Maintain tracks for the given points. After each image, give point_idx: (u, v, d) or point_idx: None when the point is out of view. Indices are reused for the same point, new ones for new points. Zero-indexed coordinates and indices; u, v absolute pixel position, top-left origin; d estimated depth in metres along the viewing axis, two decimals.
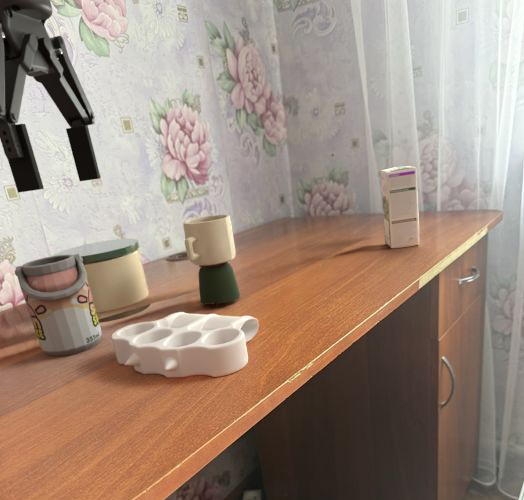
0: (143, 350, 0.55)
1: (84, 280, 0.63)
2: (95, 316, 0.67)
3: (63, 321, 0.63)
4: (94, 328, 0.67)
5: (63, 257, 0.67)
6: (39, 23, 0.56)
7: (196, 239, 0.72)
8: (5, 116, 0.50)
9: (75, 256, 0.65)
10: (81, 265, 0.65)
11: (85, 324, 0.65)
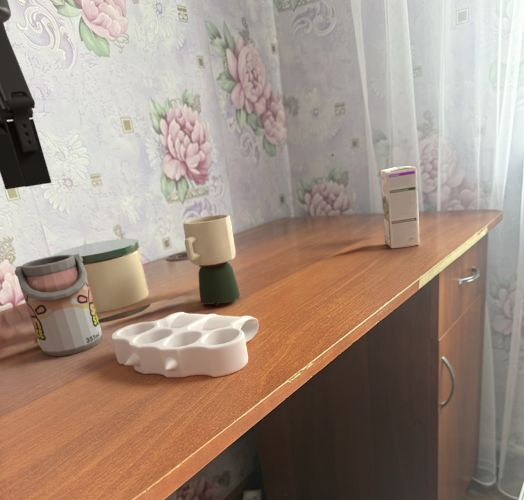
0: (143, 350, 0.55)
1: (84, 280, 0.63)
2: (95, 316, 0.67)
3: (63, 321, 0.63)
4: (94, 328, 0.67)
5: (63, 257, 0.67)
6: None
7: (196, 239, 0.72)
8: None
9: (75, 256, 0.65)
10: (81, 265, 0.65)
11: (85, 324, 0.65)
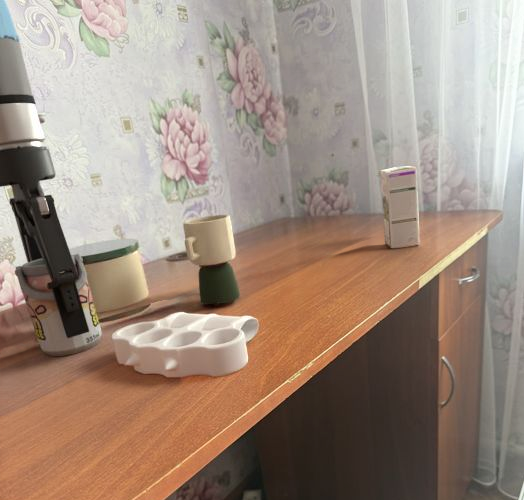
0: (143, 350, 0.55)
1: (84, 280, 0.63)
2: (95, 316, 0.67)
3: None
4: (94, 328, 0.67)
5: None
6: None
7: (196, 239, 0.72)
8: None
9: (75, 256, 0.65)
10: (81, 265, 0.65)
11: None
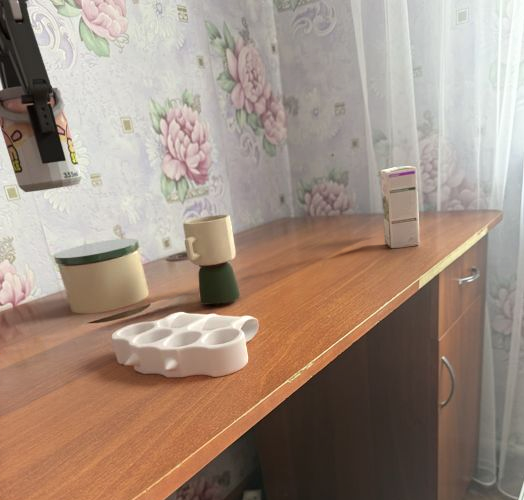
0: (143, 350, 0.55)
1: (61, 107, 0.62)
2: (74, 154, 0.66)
3: None
4: (72, 165, 0.66)
5: None
6: None
7: (196, 239, 0.72)
8: None
9: (53, 88, 0.64)
10: (59, 96, 0.64)
11: None
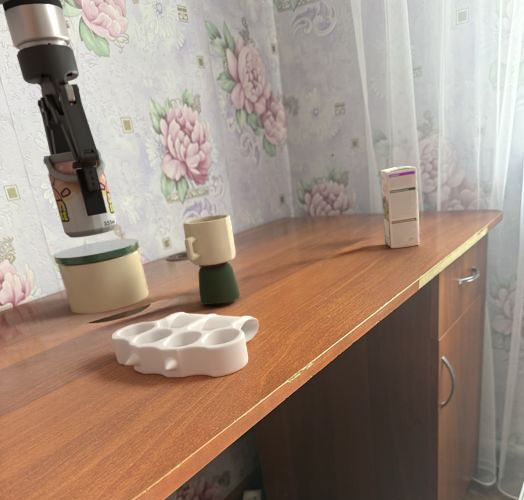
0: (143, 349, 0.55)
1: (103, 168, 0.74)
2: (111, 205, 0.78)
3: (84, 204, 0.74)
4: (111, 214, 0.77)
5: None
6: None
7: (196, 239, 0.72)
8: None
9: None
10: (100, 157, 0.75)
11: None
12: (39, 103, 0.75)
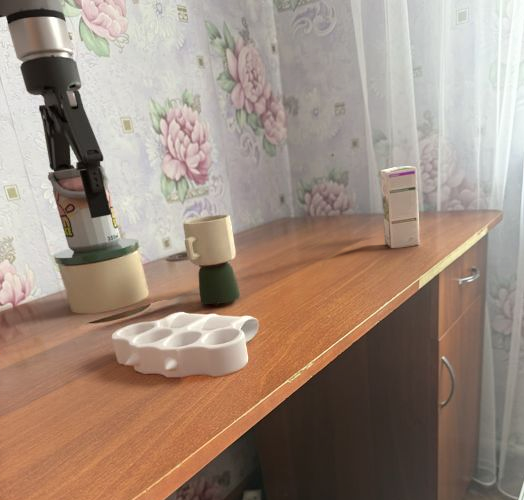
0: (143, 350, 0.55)
1: (106, 184, 0.75)
2: (115, 220, 0.79)
3: (88, 219, 0.75)
4: (114, 229, 0.78)
5: None
6: None
7: (196, 239, 0.72)
8: None
9: None
10: (103, 173, 0.76)
11: (106, 224, 0.77)
12: (41, 109, 0.76)
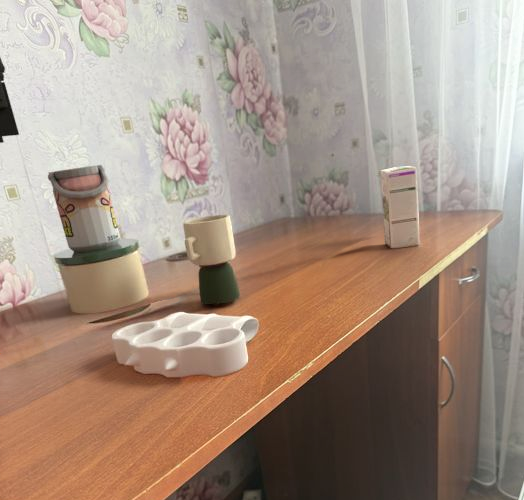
0: (143, 350, 0.55)
1: (106, 184, 0.75)
2: (115, 220, 0.79)
3: (88, 219, 0.75)
4: (114, 229, 0.78)
5: None
6: None
7: (196, 239, 0.72)
8: None
9: (98, 166, 0.77)
10: (103, 173, 0.76)
11: (106, 224, 0.77)
12: None
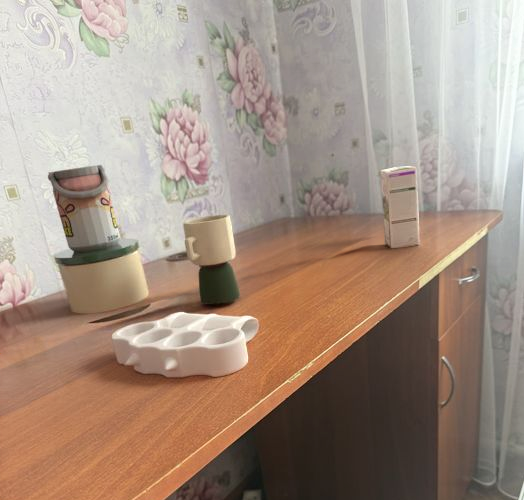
0: (143, 350, 0.55)
1: (106, 184, 0.75)
2: (115, 220, 0.79)
3: (88, 219, 0.75)
4: (114, 229, 0.78)
5: None
6: None
7: (196, 239, 0.72)
8: None
9: (98, 166, 0.77)
10: (103, 173, 0.76)
11: (106, 224, 0.77)
12: None
